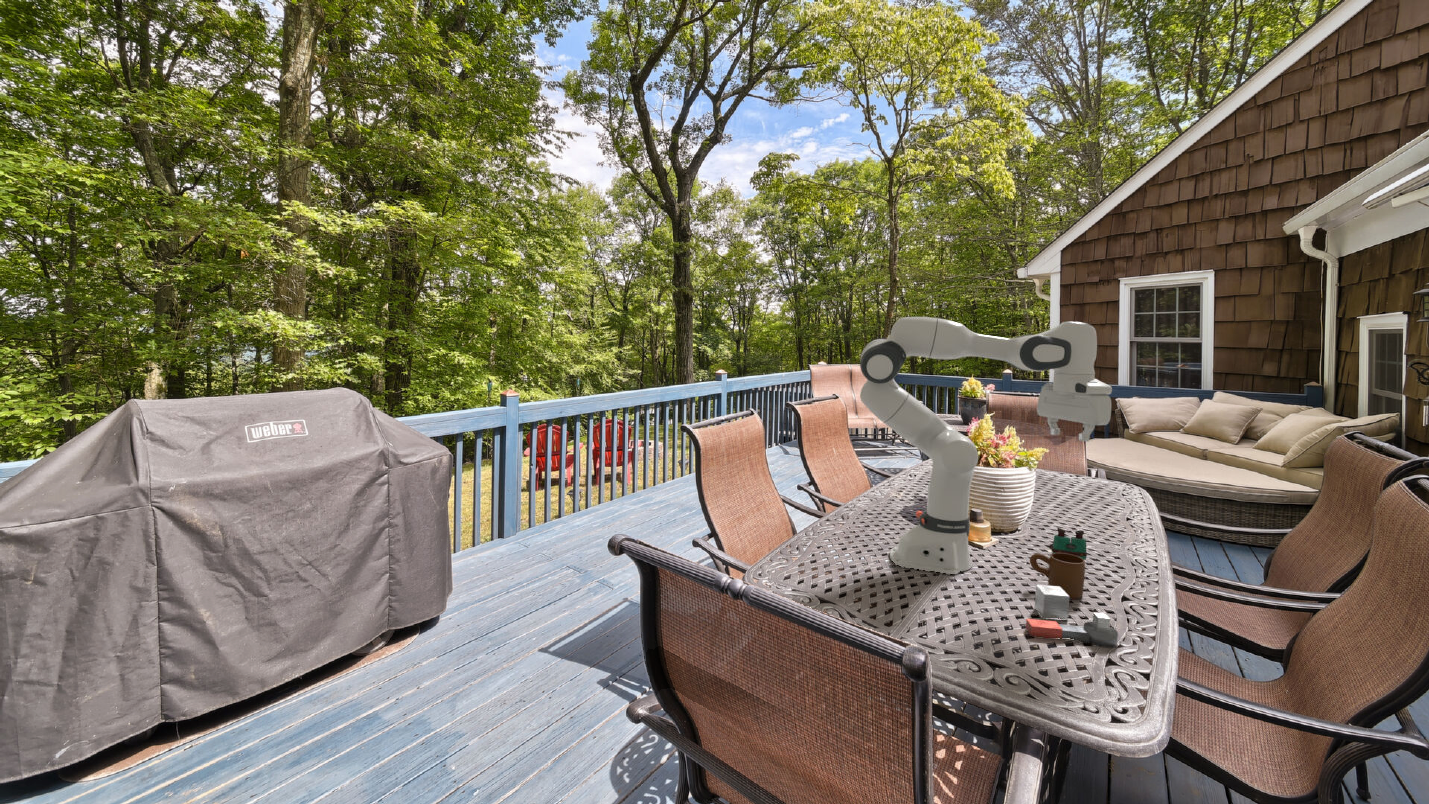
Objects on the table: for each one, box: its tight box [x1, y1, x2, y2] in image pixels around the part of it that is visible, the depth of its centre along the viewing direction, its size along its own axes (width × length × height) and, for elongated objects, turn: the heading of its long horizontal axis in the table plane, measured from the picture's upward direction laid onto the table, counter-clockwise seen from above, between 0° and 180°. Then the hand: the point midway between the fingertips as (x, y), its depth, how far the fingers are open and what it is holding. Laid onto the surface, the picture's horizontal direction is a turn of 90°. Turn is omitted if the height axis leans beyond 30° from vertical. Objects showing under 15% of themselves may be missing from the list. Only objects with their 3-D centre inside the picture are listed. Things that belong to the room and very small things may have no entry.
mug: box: [1029, 553, 1086, 600], centre depth 140 cm, size 12×8×9 cm, turn 55°
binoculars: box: [1048, 527, 1088, 561], centre depth 159 cm, size 9×11×10 cm
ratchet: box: [1025, 612, 1119, 649], centre depth 118 cm, size 17×6×6 cm, turn 78°
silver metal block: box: [1034, 584, 1070, 620], centre depth 127 cm, size 5×5×6 cm
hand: (1068, 437), depth 142 cm, fingers open, 8 cm apart
